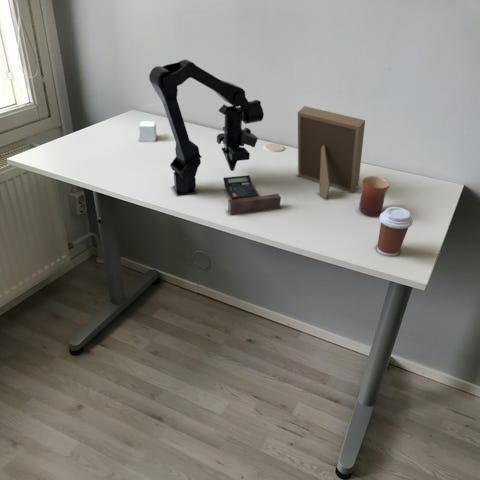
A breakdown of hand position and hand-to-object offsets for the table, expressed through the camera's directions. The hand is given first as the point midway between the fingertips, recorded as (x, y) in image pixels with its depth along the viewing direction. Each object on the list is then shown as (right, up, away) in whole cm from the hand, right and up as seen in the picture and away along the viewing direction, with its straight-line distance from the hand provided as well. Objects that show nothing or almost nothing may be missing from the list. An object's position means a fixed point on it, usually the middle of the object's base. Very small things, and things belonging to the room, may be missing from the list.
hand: (232, 170), depth 173 cm
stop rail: (+7, -17, -15) cm, 24 cm away
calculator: (+3, -9, -4) cm, 10 cm away
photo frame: (+31, -6, 0) cm, 32 cm away
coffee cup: (+46, -33, -31) cm, 64 cm away
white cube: (-35, +22, +31) cm, 52 cm away
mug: (+46, -17, -12) cm, 51 cm away
